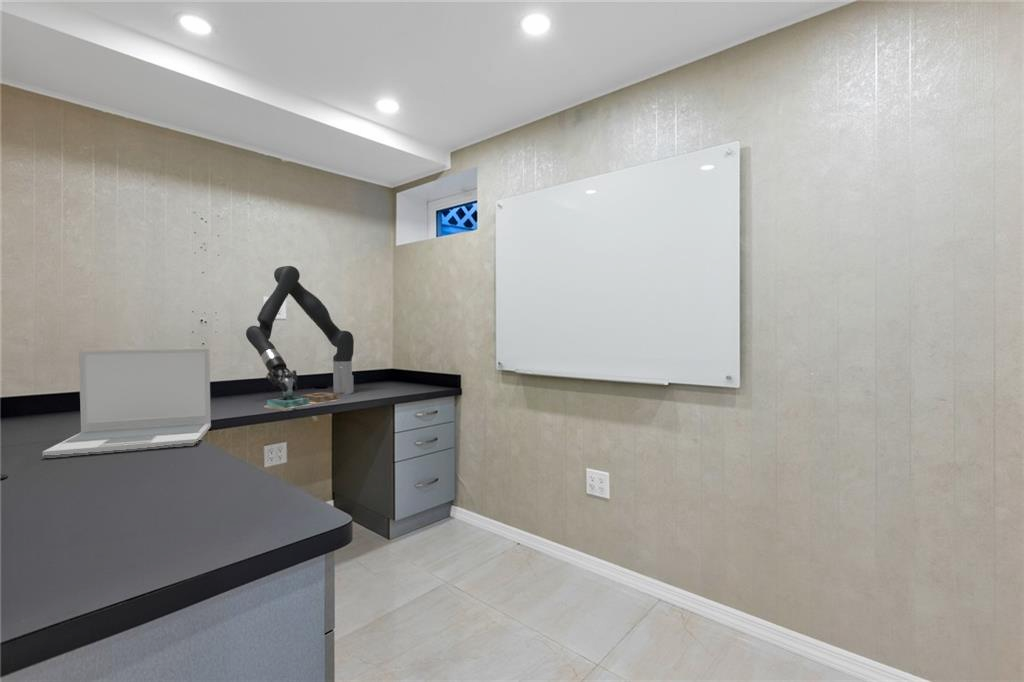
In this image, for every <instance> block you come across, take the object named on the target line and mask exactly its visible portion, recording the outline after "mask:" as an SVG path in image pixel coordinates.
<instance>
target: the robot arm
mask: <svg viewBox="0 0 1024 682" xmlns="http://www.w3.org/2000/svg"><path fill="white" fill-rule="evenodd" d="M273 277H274V279H275V280H274V281H276V283H277V286H276V287H275V289H274V291H273V292H272V293H271V295H270V296H269V297H268V298H267V300H266V301H265V302H264V304H263V305H262V307H261V309H260V311H259V313H258V315H257V319H256V320H257V321H258V322H259V326H258V325H251V326H249V327H247V329H246V332H245V336H246V339H247V340H248V341H249V343H250V344H251V345H252V347H254V348H255V350H256V351H257V353H258V355H259V356H260V358H261V360H262V363H264V366H265V367H266V369H267V371H268V373H267V374H266V376H265V378H266V379H267V380H268V381H269V382H270V383H272V385H273V386H274V387H275V386H279V388H280V389H281V390H282V392H283V391H284V392H287V390H288V388H287V386H286V385H285V383H283V376H282V373H287V372H293V373H294V375H293V392H296V391H297V390H298V385H297V381H298V374H297V370H292V371H291V370H290V369H289V368H288V367H287V363H286V362H285V360H284V359H283V357H282V355H281V354H280V352H279V351H278V350H277V349H276V346H275V345H274V344H273V343H272V342H271V341H270V339H271V336H272V331H273V325H274V322H275V320H276V318H277V316H278V314H279V312H280V310H281V308H282V306H283V304H284V303H285V301H286V299H287V297H288V296H289V295H290V297H292V299H294V301H295V302H296V303H297V304H298V306H299V307H300V308H301V310H303V311H304V312H305V314H306V315H307V316H308V317H309V318H310V319H311V320H312V321H313V322H314V324H315V325H316V326H317V327H318V328H319V330H321V331H322V332H323V334H324V336H326V338H327V340H328V341H329V343H331V346H334V347H335V348H336V353H335V354H334V355H333V358H332V360H333V361H332V362H333V363H332V366H333V367H332V368H333V369H332V372H333V375H332V376H333V378H332V379H333V380H332V382H333V384H332V385H333V394H339V395H341V394H343V395H351V394H353V393H354V391H355V390H354V375H353V364H352V363H353V362H352V361H353V360H352V358H353V356H354V349H355V348H354V345H355V344H354V341H355V340H354V335H353V333H352V332H350V331H348V330H341V329H340V328H339V327H338V326H337V324H335V323H334V322H333V320H332V318H331V316H330V313H329V310H328V308H327V307H326V306H325V304H323V302H322V301H321V300H320V299H319V298H318V297H317V296H316V295H314V293H312V292H310V291H309V290H308V289H307V288H305V287H304V286H303V285H302V284H301V283H300V281H299V280H300V277H301V276H300V272H299V270H298V268H297V267H295V266H294V265H293V266H292V265H285V266H283V265H282V266H279V267H277V268H276V269H275V270H274V273H273Z"/></svg>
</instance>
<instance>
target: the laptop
mask: <svg viewBox="0 0 1024 682" xmlns="http://www.w3.org/2000/svg"><path fill="white" fill-rule="evenodd" d="M210 361H211V360H210V348H181V349H180V348H178V349H177V348H176V349H175V348H174V349H173V348H172V349H171V348H170V349H165V348H164V349H124V350H122V349H117V350H116V349H115V350H114V349H113V350H112V349H111V350H110V349H109V350H106V349H105V350H79V351H78V365H79V366H78V369H79V399H80V400H79V401H80V403H79V404H80V432H79V433H77V434H74V435H73V436H70V437H69V438H67V439H65V440H62V441H61V442H59V443H57V444H55V445H52V446H51V447H49V448H47V449H45V450H43V451H42V457H43V456H44V455H60V454H73V453H88V452H101V451H113V450H126V449H137V448H147V447H156V446H164V445H172V444H182V443H194V442H196V441H198V440H200V441H201V439H202V438H203V437H204V436H205V435H206V433H207V432H208V431H209V430H210V428H211V427H212V423H211V421H212V419H211V377H210V376H211V375H210V372H211V371H210V367H211V366H210ZM197 439H198V440H197Z"/></svg>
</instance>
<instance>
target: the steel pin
mask: <svg viewBox="0 0 1024 682" xmlns="http://www.w3.org/2000/svg"><path fill="white" fill-rule="evenodd" d="M293 375H294V373H293V372H287V373H282V376H283V383H285V385H286V386H287V388H288V390H287V392H284V391H282V395H283V396H282V398H283V400H285V401H288V400H293V397H294V391H293Z"/></svg>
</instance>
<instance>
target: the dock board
mask: <svg viewBox="0 0 1024 682" xmlns="http://www.w3.org/2000/svg"><path fill="white" fill-rule="evenodd" d="M341 400H342V399H340V398H339V393H334V392H333V393H331V392H323V391H321V392H314V393H307V394H300V395H299V396H293V400H288V401H285V400H283V397H279V398H273V399H272V398H271V399H267V403H266V405H264V406H263V407H264V409H269V410H276V411H284V412H289V411H293V410H294V411H295V410H297V408H298V407H306V406H310V405H317V404H323V403H328V402H329V403H331V402H336V401H341Z"/></svg>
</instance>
